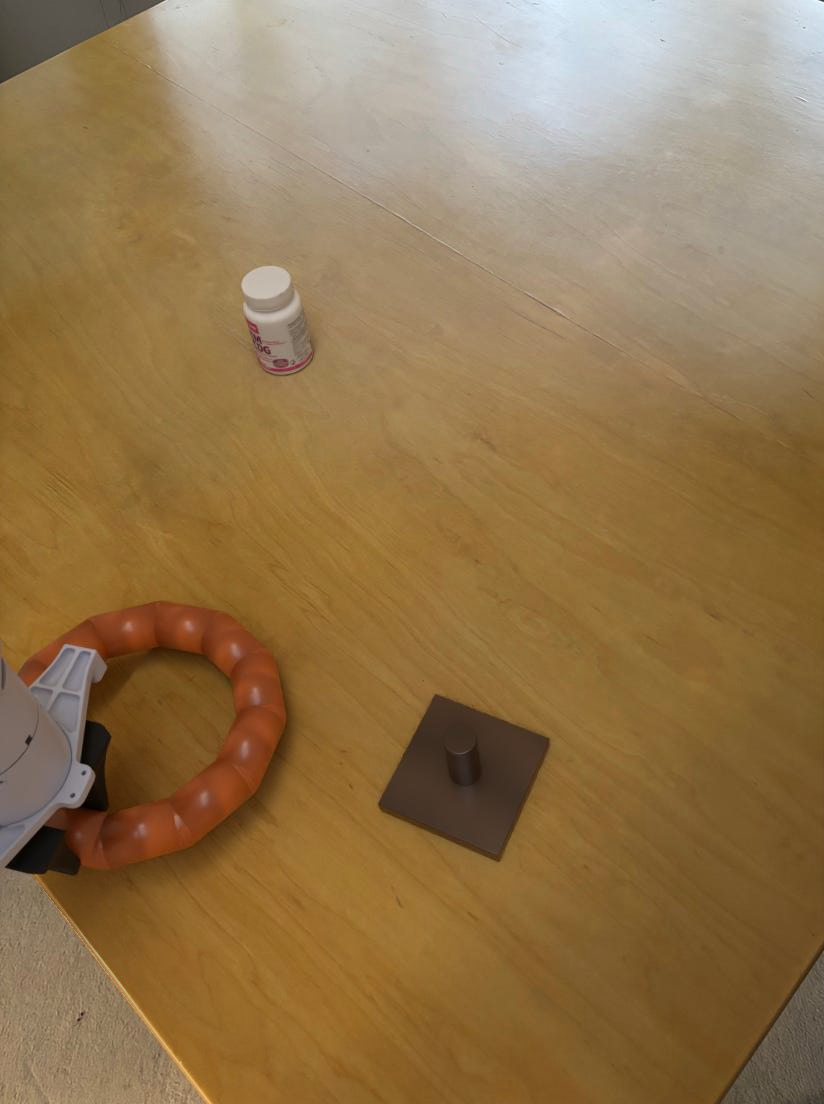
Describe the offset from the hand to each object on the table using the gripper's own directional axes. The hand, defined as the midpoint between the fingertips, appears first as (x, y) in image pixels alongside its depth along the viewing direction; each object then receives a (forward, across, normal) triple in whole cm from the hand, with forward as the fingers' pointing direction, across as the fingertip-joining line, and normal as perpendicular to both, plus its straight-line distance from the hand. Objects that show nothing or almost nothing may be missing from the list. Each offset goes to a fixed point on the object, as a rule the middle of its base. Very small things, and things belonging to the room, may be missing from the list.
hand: (77, 836), depth 61 cm
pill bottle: (+4, +43, +4) cm, 43 cm away
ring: (+1, +8, 0) cm, 8 cm away
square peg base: (+4, +10, -20) cm, 23 cm away
